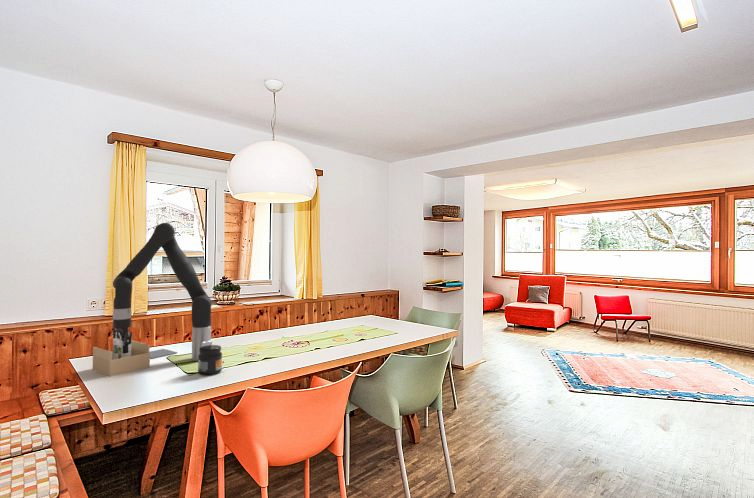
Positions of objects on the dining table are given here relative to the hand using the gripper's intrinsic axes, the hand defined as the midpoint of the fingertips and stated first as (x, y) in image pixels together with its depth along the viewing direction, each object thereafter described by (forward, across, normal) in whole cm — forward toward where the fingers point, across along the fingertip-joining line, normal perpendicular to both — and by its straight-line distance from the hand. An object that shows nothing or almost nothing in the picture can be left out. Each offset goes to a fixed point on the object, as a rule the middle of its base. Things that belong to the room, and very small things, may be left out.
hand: (122, 352), depth 194 cm
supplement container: (+8, -41, -20) cm, 46 cm away
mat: (+8, +12, -24) cm, 28 cm away
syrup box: (+8, 0, 0) cm, 8 cm away
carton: (+8, 0, 0) cm, 8 cm away
